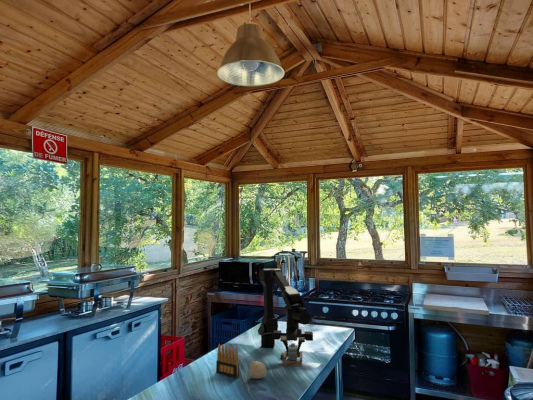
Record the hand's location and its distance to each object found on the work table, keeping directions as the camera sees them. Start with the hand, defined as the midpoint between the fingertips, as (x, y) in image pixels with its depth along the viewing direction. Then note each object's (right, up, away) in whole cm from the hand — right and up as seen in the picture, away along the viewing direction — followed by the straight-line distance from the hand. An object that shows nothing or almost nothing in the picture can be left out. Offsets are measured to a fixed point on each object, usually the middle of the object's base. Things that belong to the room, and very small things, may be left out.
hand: (292, 354), depth 171 cm
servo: (0, -1, 0) cm, 1 cm away
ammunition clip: (-28, -1, -18) cm, 34 cm away
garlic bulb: (-16, -1, -22) cm, 27 cm away
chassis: (0, -3, 0) cm, 2 cm away
